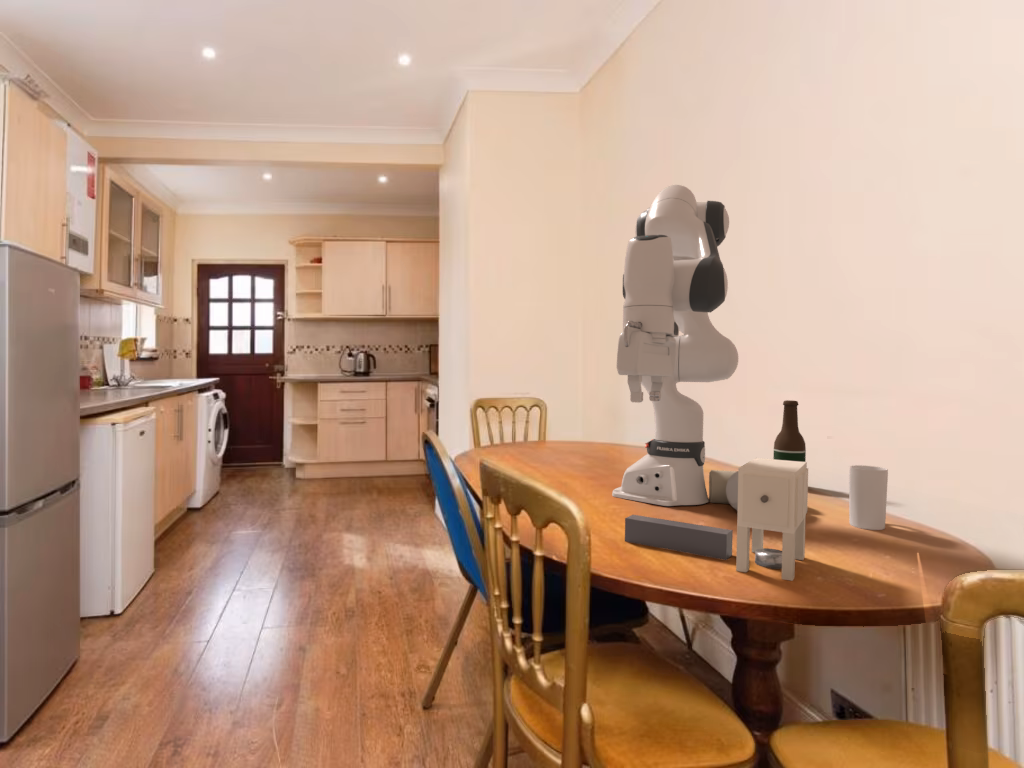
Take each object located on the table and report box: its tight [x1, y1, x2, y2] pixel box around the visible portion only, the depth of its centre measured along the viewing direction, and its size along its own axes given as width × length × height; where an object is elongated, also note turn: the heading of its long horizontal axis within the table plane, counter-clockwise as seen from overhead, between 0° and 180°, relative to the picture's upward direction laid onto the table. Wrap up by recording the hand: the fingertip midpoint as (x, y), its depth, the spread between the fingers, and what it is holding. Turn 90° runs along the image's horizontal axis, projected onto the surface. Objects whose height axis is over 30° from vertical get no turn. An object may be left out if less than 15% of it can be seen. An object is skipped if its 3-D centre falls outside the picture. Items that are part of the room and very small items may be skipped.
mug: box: [848, 464, 889, 531], centre depth 124 cm, size 10×7×12 cm, turn 150°
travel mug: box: [708, 469, 738, 505], centre depth 141 cm, size 8×8×18 cm
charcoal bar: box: [624, 514, 734, 561], centre depth 106 cm, size 18×4×4 cm, turn 55°
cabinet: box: [735, 457, 809, 582], centre depth 97 cm, size 8×15×16 cm, turn 148°
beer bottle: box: [772, 399, 807, 462], centre depth 160 cm, size 8×8×24 cm
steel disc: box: [754, 547, 782, 570], centre depth 97 cm, size 5×5×2 cm
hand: (646, 401), depth 108 cm, fingers open, 8 cm apart
